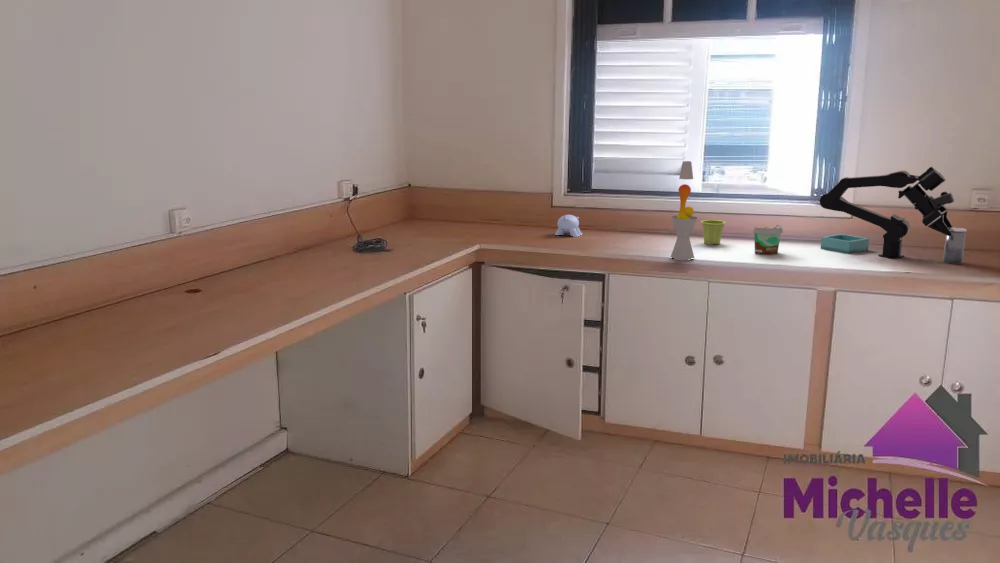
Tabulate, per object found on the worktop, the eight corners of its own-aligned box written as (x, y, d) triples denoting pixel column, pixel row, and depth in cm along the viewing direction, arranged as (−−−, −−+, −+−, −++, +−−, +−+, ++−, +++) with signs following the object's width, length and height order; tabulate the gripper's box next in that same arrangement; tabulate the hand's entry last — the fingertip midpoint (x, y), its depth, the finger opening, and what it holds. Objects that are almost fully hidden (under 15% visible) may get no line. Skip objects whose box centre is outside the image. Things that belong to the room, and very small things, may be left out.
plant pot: (727, 242, 324) (728, 221, 322) (719, 246, 316) (721, 224, 314) (704, 240, 329) (705, 219, 327) (696, 244, 321) (697, 222, 319)
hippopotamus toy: (586, 232, 348) (587, 210, 346) (576, 238, 335) (576, 215, 333) (562, 231, 352) (563, 209, 350) (551, 236, 339) (552, 214, 337)
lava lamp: (667, 259, 291) (672, 161, 283) (671, 254, 300) (676, 159, 292) (693, 261, 288) (698, 162, 280) (696, 256, 296) (701, 160, 288)
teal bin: (848, 253, 300) (849, 241, 299) (820, 248, 310) (821, 237, 309) (868, 250, 307) (869, 238, 306) (840, 245, 316) (841, 234, 315)
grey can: (956, 265, 280) (960, 230, 277) (938, 262, 285) (942, 228, 282) (966, 263, 283) (970, 229, 280) (948, 260, 288) (952, 226, 285)
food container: (763, 256, 296) (765, 229, 293) (751, 253, 301) (753, 227, 299) (788, 253, 301) (790, 227, 299) (775, 250, 307) (777, 224, 304)
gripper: (937, 187, 274) (970, 222, 270) (943, 182, 289) (974, 215, 285) (908, 208, 280) (940, 242, 276) (916, 202, 295) (946, 235, 291)
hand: (951, 233), depth 282 cm, fingers open, 9 cm apart
